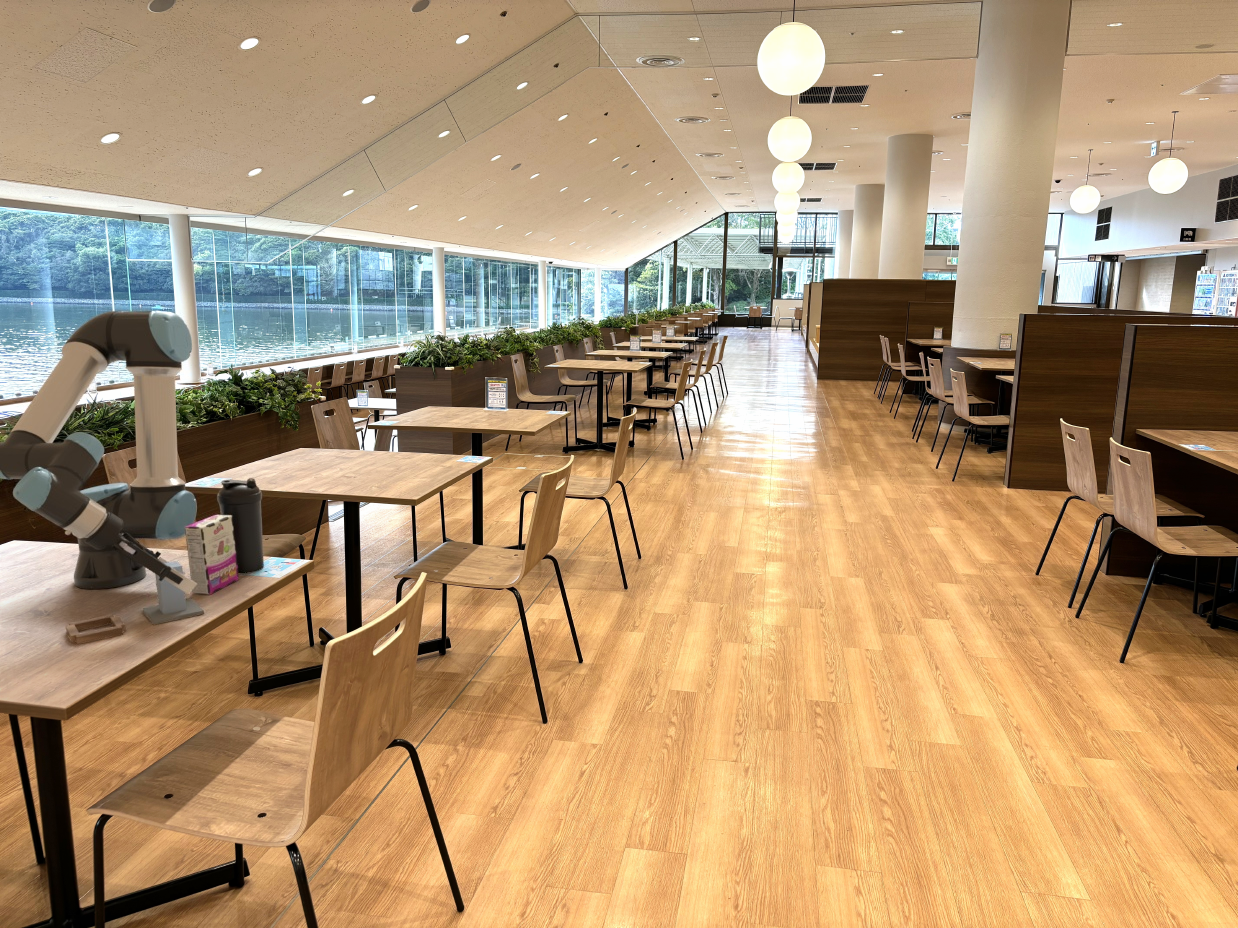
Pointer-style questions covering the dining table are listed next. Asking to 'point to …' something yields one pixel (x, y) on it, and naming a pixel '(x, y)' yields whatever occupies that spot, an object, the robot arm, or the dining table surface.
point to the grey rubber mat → (158, 617)
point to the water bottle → (244, 521)
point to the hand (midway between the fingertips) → (186, 583)
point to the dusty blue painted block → (170, 593)
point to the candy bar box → (212, 553)
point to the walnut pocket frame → (98, 634)
